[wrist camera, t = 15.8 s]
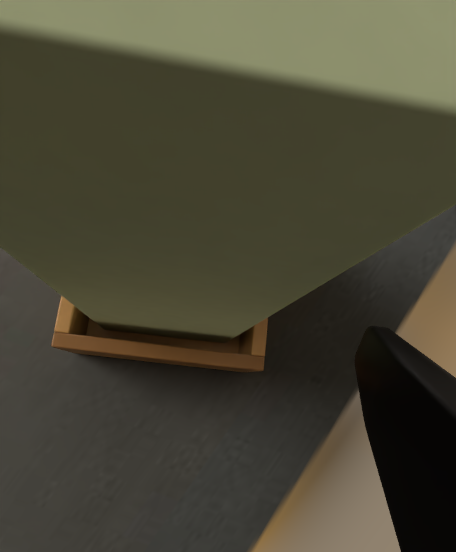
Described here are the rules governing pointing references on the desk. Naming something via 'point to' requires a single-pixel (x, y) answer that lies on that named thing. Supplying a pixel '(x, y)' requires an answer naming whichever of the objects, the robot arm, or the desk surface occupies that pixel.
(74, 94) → the sage green pillar
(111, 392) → the desk surface
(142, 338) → the small open wooden box
